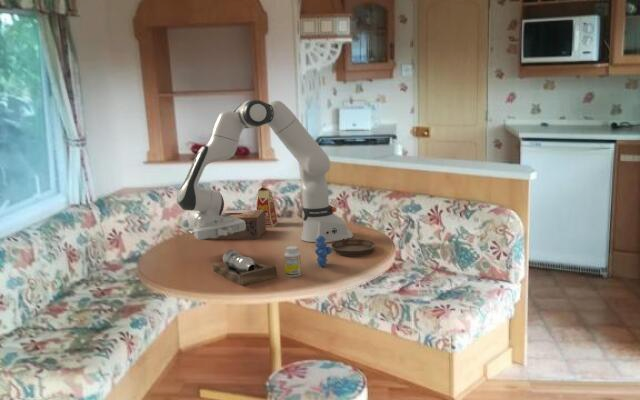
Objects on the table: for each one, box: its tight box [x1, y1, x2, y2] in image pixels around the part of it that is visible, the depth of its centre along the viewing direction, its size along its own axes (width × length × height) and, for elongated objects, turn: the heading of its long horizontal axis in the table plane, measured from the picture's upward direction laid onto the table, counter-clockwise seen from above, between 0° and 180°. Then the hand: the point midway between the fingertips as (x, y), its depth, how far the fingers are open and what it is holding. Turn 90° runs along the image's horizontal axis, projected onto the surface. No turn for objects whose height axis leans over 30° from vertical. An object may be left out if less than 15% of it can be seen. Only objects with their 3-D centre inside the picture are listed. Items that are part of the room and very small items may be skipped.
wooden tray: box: [212, 259, 278, 287], centre depth 227 cm, size 23×14×4 cm, turn 36°
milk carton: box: [256, 184, 278, 228], centre depth 297 cm, size 9×9×20 cm
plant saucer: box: [330, 238, 377, 257], centre depth 249 cm, size 18×18×3 cm
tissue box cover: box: [205, 209, 267, 240], centre depth 282 cm, size 26×14×10 cm, turn 82°
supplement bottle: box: [284, 245, 302, 278], centre depth 222 cm, size 6×6×10 cm
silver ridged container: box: [222, 249, 257, 274], centre depth 228 cm, size 6×7×20 cm
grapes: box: [314, 236, 334, 267], centre depth 231 cm, size 12×7×12 cm, turn 7°
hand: (229, 232), depth 232 cm, fingers closed
